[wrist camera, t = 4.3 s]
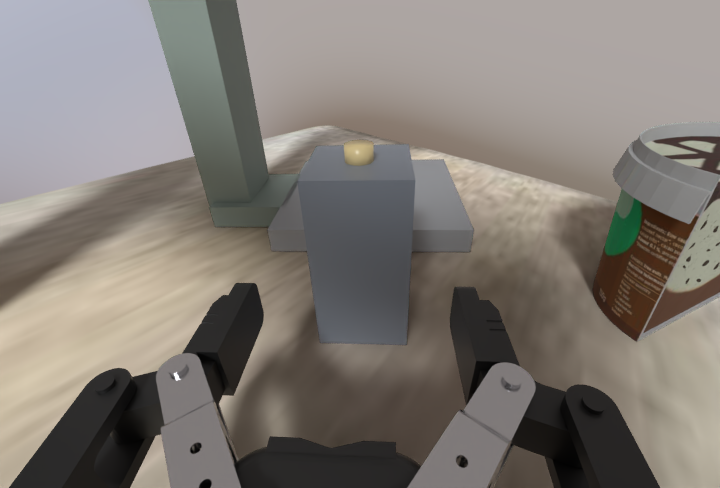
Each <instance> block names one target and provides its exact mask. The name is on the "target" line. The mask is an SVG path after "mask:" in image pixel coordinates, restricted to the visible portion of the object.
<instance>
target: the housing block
mask: <svg viewBox="0 0 720 488" xmlns="http://www.w3.org/2000/svg"><path fill="white" fill-rule="evenodd" d="M297 183H298V191H299V198H300V205H301V212H302V219H303V226H304V233H305V240H306V247H307V255H308V262H309V269H310V276H311V283H312V290H313V297H314V304H315V312H316V319H317V326H318V333H319V340H320V343H345V344H390V345H407V327H408V309H409V290H410V272H411V253H412V235H413V216H414V198H415V175H414V170H413V165H412V160H411V155H410V149H409V144H399V145H374V143H373V142H371V141H368V140H352V141H348V142H346V143H344V145H340V146H316V148H315V150H314V151H313V153H312V155H311V157H310V159H309V161H308V162H307V164H306V166H305V168H304V170H303V171H302V173H301V175H300V177H299V179H298V181H297Z"/></svg>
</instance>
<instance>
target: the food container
mask: <svg viewBox="0 0 720 488" xmlns="http://www.w3.org/2000/svg"><path fill="white" fill-rule="evenodd" d="M613 177H614V179H615V181H616V182H617V184H618V185H619V186H620V187H621V188H622V190H621V193H620V197H619V200H618V203H617V206H616V210H615V213H614V216H613V220H612V223H611V227H610V230H609V233H608V237H607V240H606V243H605V247H604V250H603V254H602V257H601V260H600V264H599V267H598V270H597V274H596V277H595V280H594V284H593V294H594V298H595V300H596V302H597V305H598V306H599V307H600V309H601V310H602V312H603V313H604V314H605V315H606V316H607V318H608V319H609V320H610V321H611V322H612V323H613V324H614V325H616V326H617V327H618V328H619V329H620V330H621V331H622V332H624V333H625V334H627V335H628V336H629V337H631V338H632V339H633V340H635V341H636V342H637V341H639V340H641V339H643V338H645V337H647V336H648V335H650V334H652V333H654V332H656V331H658V330H659V329H661V328H663V327H665V326H667V325H669V324H670V323H672V322H674V321H676V320H678V319H680V318H682V317H683V316H685V315H687V314H689V313H691V312H693V311H694V310H696V309H698V308H700V307H702V306H704V305H706V304H707V303H709V302H711V301H713V300H715V299H717V298H718V297H720V122H689V123H674V124H666V125H660V126H655V127H652V128H649V129H647V130H645V131H643V132H642V133H641V134H640V136H639V138H638V139H637V140H636V141H634V142H632V143H631V144H630V145H629V147H628V148H627V150H626V151H625V153H624V154H623V156H622V157H621V159H620V160H619V162H618V164H617V165H616V166H615V168H614V171H613Z"/></svg>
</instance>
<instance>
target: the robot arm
mask: <svg viewBox="0 0 720 488" xmlns="http://www.w3.org/2000/svg"><path fill="white" fill-rule="evenodd" d="M263 317H264V314H263V308H262V304H261V300H260V296H259V292H258V288H257V285H256V284H255V283H236V284H235V285H234V287H233V288H232V290H231V292H230V294H229V295H223V296H221V297H220V298H219V299H218V300H217V301H216V302H214V303H213V304H212V306H211V307H210V309H209V311H208V312H207V316H205V317H204V319H203V321H202V324H200V325H199V327H198V329H197V330H196V332H195V334H194V335H193V337H192V338H191V340H190V342H189V343H188V345H187V347H186V348H185V350H184V352H183V353H182V354H179V355H176V356H174V357H172V358H170V359H169V360H167V361H166V362H165V363H164V364H163V365H162V366H161V367H160V368H159V370H158V371H155V372H151V373H147V374H143V375H139V376H135V377H132V376H131V374H130V373H129V371H127V370H126V369H122V368H116V369H111V370H108V371H105V372H103V373H101V374H99V375H98V376H96V377H95V378H94V379H92V380H91V381H90V382H89V383H88V384H87V385H86V386H85V388H84V389H83V390H82V392H81V393H80V394H79V396H78V397H77V398H76V400H75V401H74V402H73V404H72V405H71V406H70V408H69V409H68V410H67V411H66V413H65V414H64V415H63V417H62V418H61V419H60V421H59V422H58V423H57V425H56V426H55V427H54V429H53V430H52V431H51V433H50V434H49V435H48V437H47V438H46V439H45V441H44V442H43V443H42V445H41V446H40V447H39V449H38V450H37V451H36V453H35V454H34V455H33V457H32V458H31V459H30V460H29V462H28V463H27V464H26V466H25V467H24V468H23V470H22V471H21V472H20V474H19V475H18V476H17V478H16V479H15V480H14V482H13V483H12V484H11V486H10V487H9V488H130V487H131V485H132V483H133V481H134V478H135V476H136V474H137V472H138V470H139V468H140V466H141V464H142V462H143V460H144V458H145V456H146V454H147V452H148V450H149V448H150V446H151V444H152V442H153V440H154V438H155V436H156V435H160V434H161V435H162V441H163V447H164V452H165V458H166V463H167V469H168V475H169V480H170V486H171V488H494V486H495V484H496V482H497V480H498V477H499V475H500V473H501V471H502V469H503V467H504V465H505V463H506V461H507V459H508V457H509V455H510V452H511V450H512V448H513V446H514V445H515V446H518V447H521V448H523V449H526V450H529V451H531V452H534V453H537V454H540V455H542V456H545V459H546V463H547V466H548V469H549V472H550V476H551V479H552V482H553V486H554V488H660V486H659V485H658V483H657V481H656V479H655V477H654V475H653V473H652V471H651V469H650V468H649V466H648V464H647V462H646V460H645V458H644V456H643V454H642V453H641V451H640V449H639V447H638V445H637V443H636V441H635V439H634V437H633V436H632V434H631V432H630V430H629V428H628V426H627V424H626V422H625V420H624V419H623V417H622V415H621V413H620V411H619V409H618V407H617V406H616V404H615V403H614V402H613V400H612V399H611V398H610V397H609V396H607V395H606V394H605V393H603V392H602V391H600V390H598V389H596V388H594V387H591V386H587V385H574V386H571V387H570V388H569V389H568V390H567V391H566V392H564V391H561V390H558V389H554V388H551V387H548V386H545V385H542V384H540V383H538V382H536V381H534V380H533V378H532V377H531V375H530V374H529V373H528V372H527V371H526V370H524V369H523V368H521V367H520V365H519V363H518V360H517V358H516V355H515V352H514V350H513V347H512V345H511V342H510V339H509V337H508V334H507V332H506V329H505V326H504V324H503V323H502V319H501V316H500V313H499V311H498V309H497V308H496V307H495V306H494V305H493V304H492V303H491V302H490V301H489V300H479V297H478V294H477V291H476V288H475V287H455V288H454V293H453V300H452V307H451V313H450V328H451V334H452V339H453V344H454V348H455V353H456V358H457V363H458V368H459V372H460V377H461V382H462V387H463V392H464V397H465V401H466V405H467V406H466V407H465V409H464V410H463V411H462V410H459V411H458V412H457V413H456V415H455V416H454V418H453V419H452V421H451V422H450V424H449V425H448V427H447V428H446V430H445V431H444V433H443V434H442V436H441V437H440V439H439V440H438V442H437V443H436V445H435V446H434V448H433V449H432V451H431V453H430V454H429V456H428V457H427V459H426V460H425V462H424V463H423V465H422V466H420V465H419V464H418V463H416V462H415V461H413V460H412V459H410V458H408V457H406V456H404V455H402V454H399V453H396V442H377V441H361V442H357V443H353V444H348V445H344V446H339V447H335V448H329V447H325V446H322V445H319V444H317V443H314V442H311V441H308V440H305V439H302V438H291V437H270V438H269V442H268V445H267V447H265V448H262V449H259V450H256V451H254V452H252V453H250V454H248V455H246V456H245V457H243V458H241V459H240V460H239V459H238V456H237V454H236V451H235V449H234V446H233V443H232V440H231V437H230V434H229V431H228V428H227V426H226V423H225V420H224V417H223V414H222V411H221V408H220V406H219V402H220V400H221V398H222V395H232V396H234V393H235V391H236V388H237V386H238V383H239V381H240V378H241V376H242V374H243V371H244V369H245V366H246V364H247V361H248V359H249V356H250V354H251V351H252V349H253V347H254V344H255V342H256V339H257V337H258V334H259V332H260V329H261V327H262V324H263Z"/></svg>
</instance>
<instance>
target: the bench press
mask: <svg viewBox="0 0 720 488" xmlns="http://www.w3.org/2000/svg"><path fill="white" fill-rule="evenodd" d="M148 1H149V4H150V7H151V11H152V14H153V17H154V21H155V24H156V28H157V31H158V34H159V38H160V41H161V44H162V48H163V51H164V54H165V58H166V61H167V65H168V68H169V71H170V74H171V78H172V81H173V85H174V88H175V91H176V95H177V98H178V102H179V105H180V108H181V111H182V115H183V118H184V121H185V125H186V128H187V132H188V135H189V139H190V142H191V145H192V149H193V152H194V155H195V159H196V162H197V165H198V169H199V172H200V176H201V179H202V182H203V186H204V189H205V192H206V196H207V199H208V202H209V206H210V207H209V209H210V212H211V215H212V219H213V222H214V225H215V227H269V228H268V230H267V231H268V236H269V241H270V245H271V250H272V251H307V247H306V240H305V233H304V226H303V219H302V212H301V205H300V198H299V191H298V183H297V181H298V179H299V177H300V175H301V173H302V171H303V170H304V168H305V166H306V164H307V162H308V161H306V162H305V164H304V166H303V167H302V169H301V171H300V173H299V174H268V169H267V164H266V159H265V153H264V148H263V142H262V137H261V132H260V127H259V121H258V116H257V110H256V106H255V99H254V94H253V89H252V84H251V78H250V73H249V67H248V62H247V56H246V51H245V46H244V41H243V35H242V30H241V24H240V19H239V14H238V8H237V3H236V0H148ZM412 165H413V170H414V175H415V198H414V216H413V235H412V252H470V251H471V245H472V238H473V232H474V229H473V227H472V224H471V222H470V220H469V217H468V215H467V213H466V210H465V208H464V206H463V203H462V201H461V199H460V196H459V194H458V192H457V189H456V187H455V185H454V182H453V180H452V178H451V175H450V173H449V171H448V168H447V166H446V164H445V161H444V159H443V160H412Z"/></svg>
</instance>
